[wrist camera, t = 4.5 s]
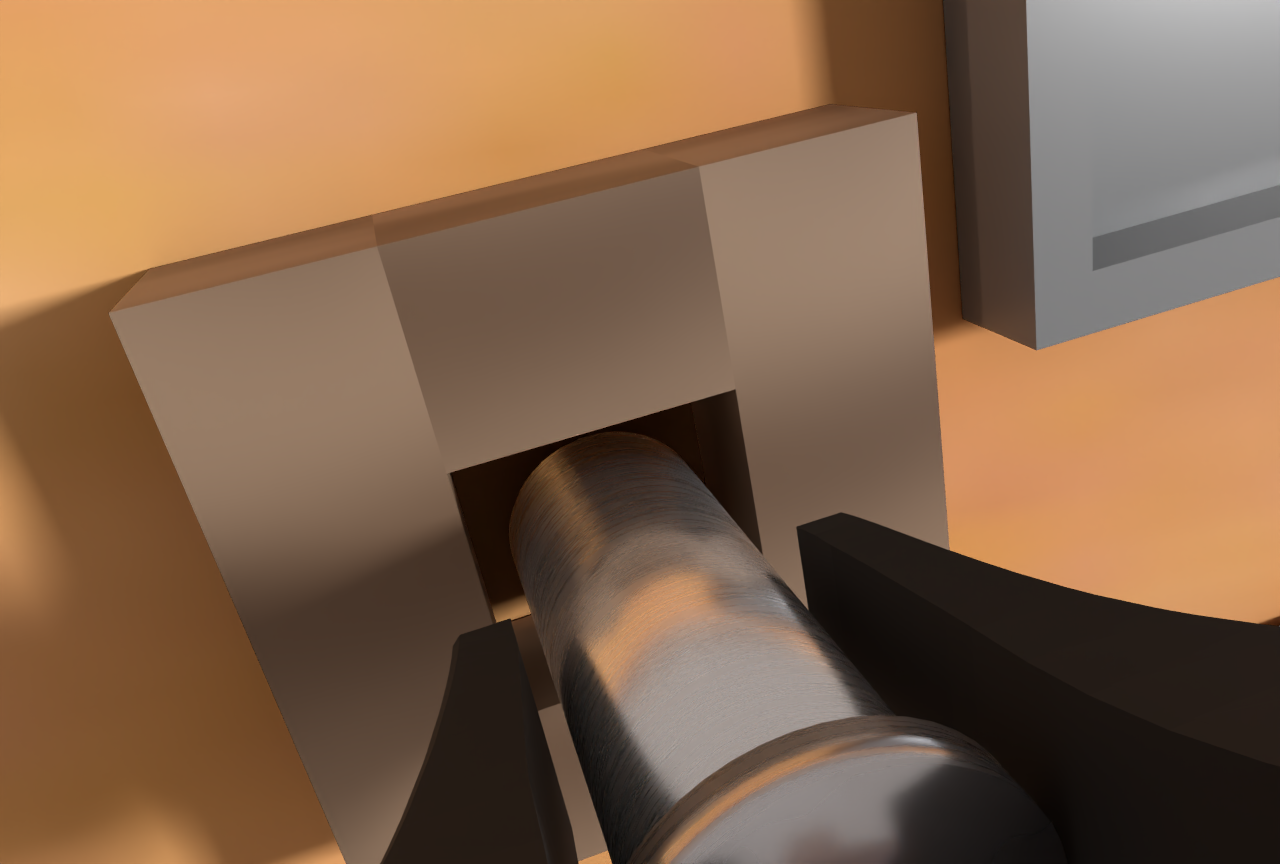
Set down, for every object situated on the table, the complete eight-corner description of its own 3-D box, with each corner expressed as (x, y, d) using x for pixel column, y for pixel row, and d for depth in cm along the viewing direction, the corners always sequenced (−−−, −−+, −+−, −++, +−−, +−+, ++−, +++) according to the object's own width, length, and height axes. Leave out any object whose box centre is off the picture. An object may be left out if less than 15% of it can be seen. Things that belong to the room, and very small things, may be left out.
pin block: (888, 639, 19) (962, 718, 17) (373, 820, 17) (376, 935, 15) (830, 104, 15) (916, 112, 13) (150, 268, 13) (108, 313, 11)
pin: (743, 591, 16) (1072, 1036, 9) (517, 666, 15) (668, 1217, 8) (705, 374, 14) (1065, 696, 7) (451, 448, 14) (564, 884, 6)
